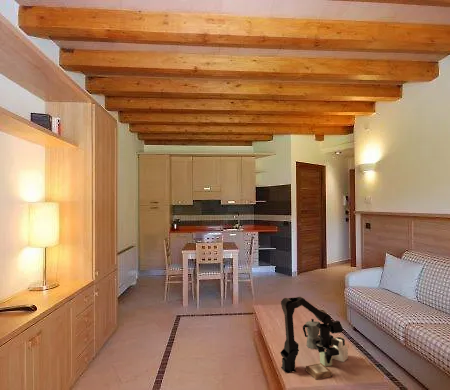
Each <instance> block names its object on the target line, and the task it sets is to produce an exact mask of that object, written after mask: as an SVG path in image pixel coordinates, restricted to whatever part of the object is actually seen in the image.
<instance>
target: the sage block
mask: <svg viewBox="0 0 450 390" xmlns="http://www.w3.org/2000/svg"><path fill="white" fill-rule="evenodd" d="M324 352H326V350H325V351H324ZM324 352H320V353H319V364H320V363H322V364H323V365H324V366H325V367H329V366H333V358H332V357H331V360H330V363H327V360H326V357H325V354H324Z"/></svg>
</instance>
